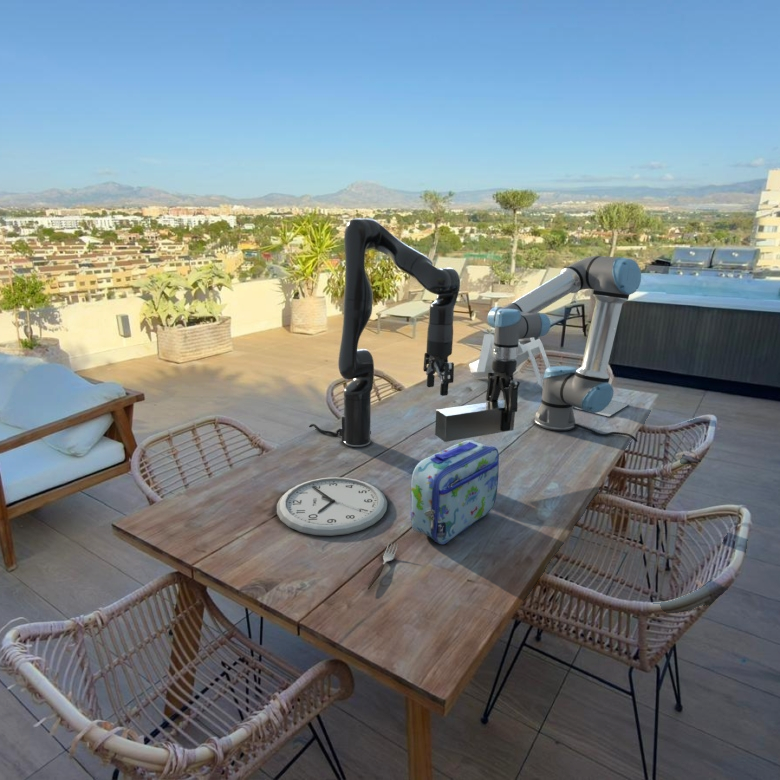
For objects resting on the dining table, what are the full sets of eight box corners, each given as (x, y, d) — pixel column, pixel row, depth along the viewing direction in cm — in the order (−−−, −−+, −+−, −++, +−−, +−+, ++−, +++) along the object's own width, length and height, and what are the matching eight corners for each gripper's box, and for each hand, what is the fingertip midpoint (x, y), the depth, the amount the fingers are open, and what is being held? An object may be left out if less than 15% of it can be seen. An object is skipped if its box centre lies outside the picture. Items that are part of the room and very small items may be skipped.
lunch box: (436, 553, 122) (441, 472, 116) (403, 535, 129) (406, 457, 123) (500, 514, 140) (507, 441, 133) (468, 499, 147) (473, 430, 141)
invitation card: (608, 416, 214) (573, 407, 224) (608, 416, 214) (573, 408, 224) (628, 404, 229) (594, 396, 238) (628, 405, 229) (594, 397, 238)
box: (502, 423, 176) (504, 399, 174) (513, 430, 171) (515, 405, 168) (434, 434, 166) (436, 409, 164) (444, 442, 161) (446, 416, 158)
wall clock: (392, 527, 129) (268, 531, 127) (391, 533, 130) (269, 537, 127) (383, 473, 158) (282, 475, 155) (383, 478, 158) (282, 480, 156)
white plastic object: (490, 419, 265) (470, 397, 240) (471, 347, 287) (451, 319, 262) (561, 395, 253) (548, 369, 228) (536, 321, 275) (521, 290, 250)
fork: (362, 589, 110) (362, 581, 109) (388, 548, 124) (388, 541, 123) (373, 592, 109) (373, 584, 108) (398, 550, 123) (399, 543, 122)
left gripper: (417, 334, 157) (415, 385, 162) (440, 344, 145) (437, 399, 150) (439, 332, 160) (436, 383, 165) (463, 342, 148) (459, 396, 153)
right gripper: (477, 353, 172) (473, 418, 179) (513, 367, 155) (507, 438, 162) (496, 351, 175) (491, 415, 182) (534, 364, 158) (527, 435, 165)
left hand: (436, 390), depth 158 cm, fingers open, 8 cm apart
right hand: (499, 426), depth 172 cm, fingers closed on box, 6 cm apart
